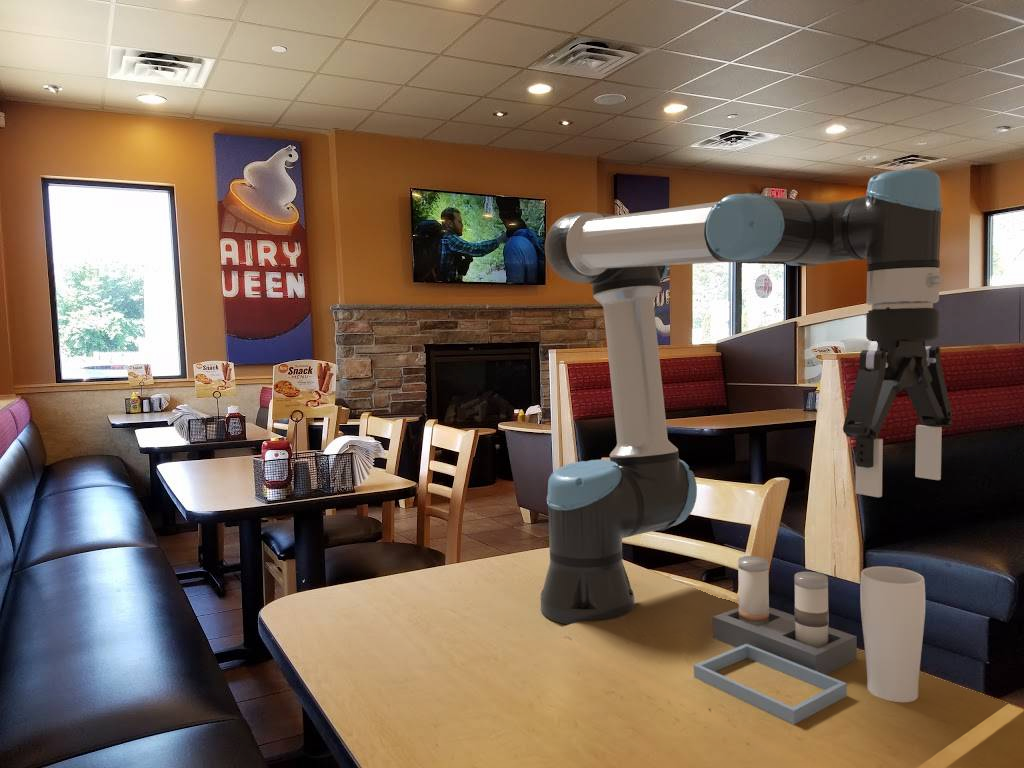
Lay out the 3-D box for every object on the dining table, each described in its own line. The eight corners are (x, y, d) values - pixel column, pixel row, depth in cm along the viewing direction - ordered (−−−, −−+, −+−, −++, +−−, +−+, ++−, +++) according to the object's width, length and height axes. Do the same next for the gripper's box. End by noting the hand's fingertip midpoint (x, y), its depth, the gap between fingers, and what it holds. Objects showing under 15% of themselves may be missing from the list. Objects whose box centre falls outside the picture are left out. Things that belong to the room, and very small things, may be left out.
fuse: (732, 636, 103) (731, 559, 103) (751, 628, 106) (750, 554, 105) (757, 645, 100) (756, 567, 99) (775, 637, 102) (774, 560, 101)
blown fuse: (788, 658, 96) (787, 575, 95) (807, 649, 98) (806, 569, 97) (816, 669, 92) (816, 584, 92) (835, 660, 95) (834, 577, 94)
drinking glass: (923, 719, 82) (923, 588, 81) (857, 704, 85) (856, 579, 84) (926, 693, 88) (926, 570, 87) (864, 680, 91) (863, 562, 90)
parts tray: (694, 684, 92) (693, 665, 92) (746, 661, 97) (746, 643, 97) (793, 732, 80) (793, 710, 80) (846, 703, 86) (846, 683, 85)
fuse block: (713, 644, 103) (712, 616, 103) (753, 628, 108) (753, 601, 108) (815, 686, 90) (815, 655, 90) (856, 666, 95) (856, 636, 95)
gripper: (876, 306, 75) (873, 509, 77) (985, 305, 89) (981, 476, 91) (810, 309, 81) (809, 496, 83) (922, 307, 95) (919, 467, 97)
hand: (899, 486), depth 87 cm, fingers open, 13 cm apart
